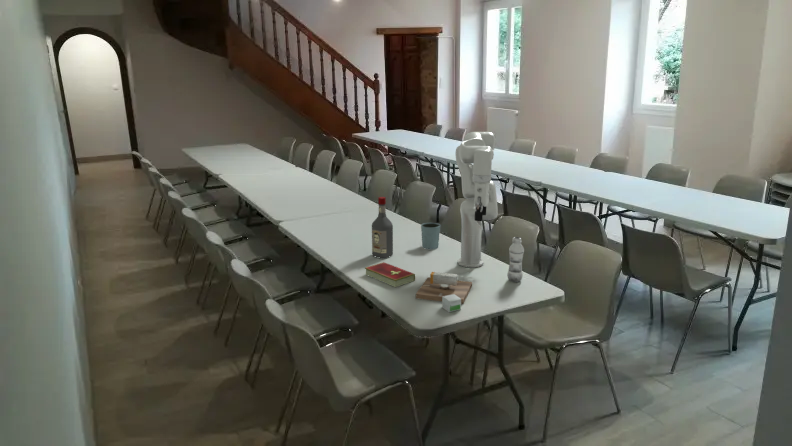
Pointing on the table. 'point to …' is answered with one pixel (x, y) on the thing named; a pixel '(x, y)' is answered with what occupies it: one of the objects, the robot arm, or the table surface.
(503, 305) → the table surface
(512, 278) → the plastic bottle
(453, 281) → the white and orange box
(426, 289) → the wooden cutting board
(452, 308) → the small box
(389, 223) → the liquor
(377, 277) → the hardcover book
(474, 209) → the robot arm
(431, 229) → the teal cup
